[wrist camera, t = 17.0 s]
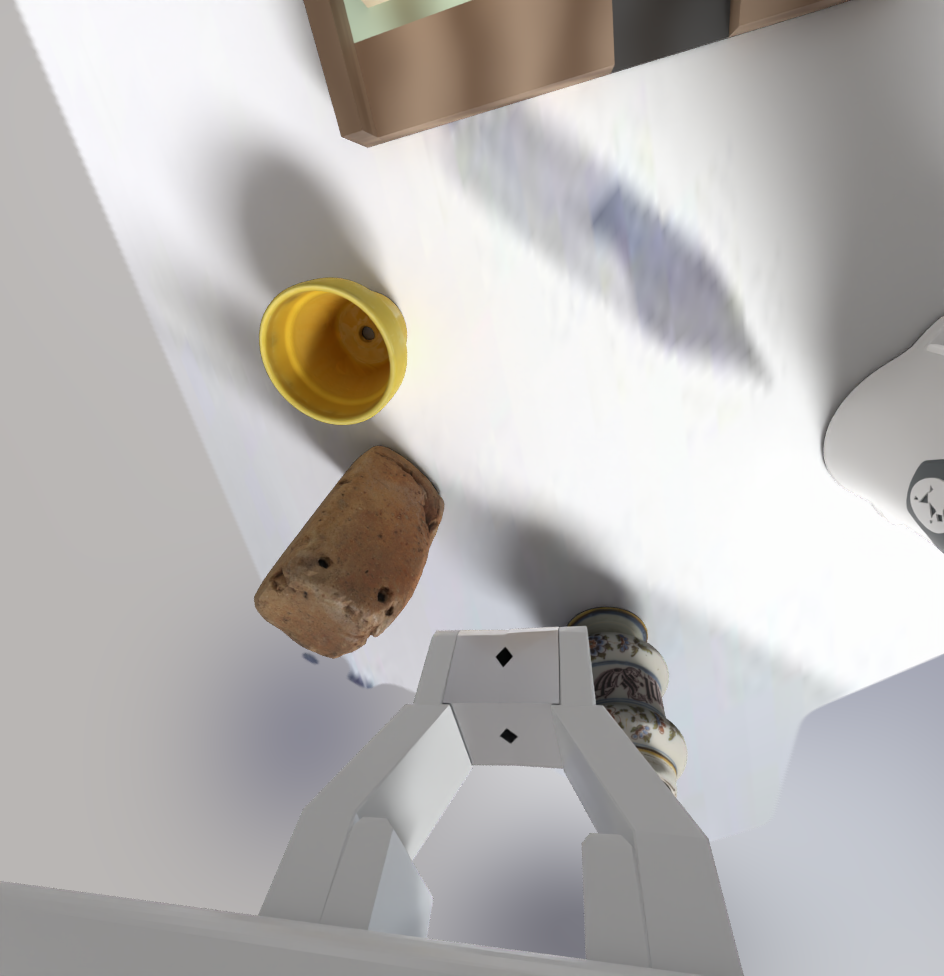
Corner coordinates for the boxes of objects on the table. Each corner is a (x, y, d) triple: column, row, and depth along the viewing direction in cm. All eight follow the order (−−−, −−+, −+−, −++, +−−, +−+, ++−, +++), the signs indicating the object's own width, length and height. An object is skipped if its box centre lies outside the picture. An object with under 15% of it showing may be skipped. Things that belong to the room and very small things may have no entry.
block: (342, 475, 49) (232, 610, 32) (379, 430, 45) (278, 555, 28) (419, 534, 52) (355, 688, 35) (460, 495, 48) (412, 646, 31)
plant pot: (372, 407, 44) (331, 450, 36) (294, 320, 41) (229, 345, 33) (451, 343, 40) (425, 375, 32) (371, 239, 37) (318, 244, 28)
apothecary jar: (574, 674, 60) (583, 830, 44) (542, 611, 55) (539, 762, 40) (668, 658, 56) (713, 824, 40) (642, 589, 51) (682, 748, 36)
